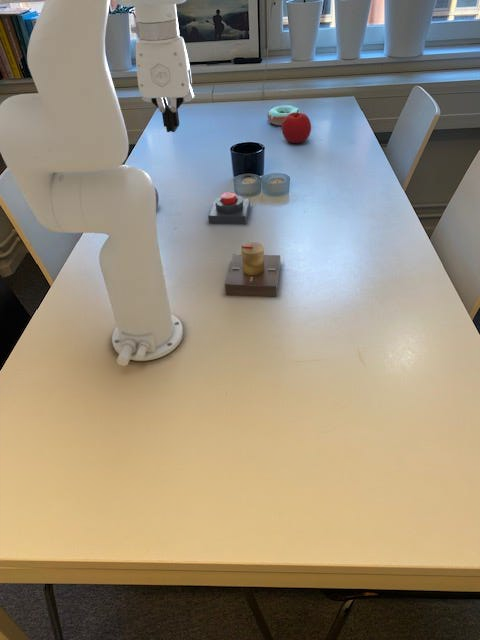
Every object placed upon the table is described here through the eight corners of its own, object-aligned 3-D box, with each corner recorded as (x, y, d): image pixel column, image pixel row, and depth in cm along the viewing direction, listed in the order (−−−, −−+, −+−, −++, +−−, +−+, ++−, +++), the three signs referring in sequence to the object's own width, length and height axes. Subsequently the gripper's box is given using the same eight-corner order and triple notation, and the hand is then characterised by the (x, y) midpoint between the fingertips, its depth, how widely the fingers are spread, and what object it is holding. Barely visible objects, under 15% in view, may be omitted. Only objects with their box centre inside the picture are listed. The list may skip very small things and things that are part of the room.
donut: (302, 115, 176) (302, 104, 174) (300, 127, 167) (300, 115, 165) (269, 116, 178) (268, 104, 175) (265, 127, 169) (265, 115, 166)
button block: (245, 224, 118) (245, 209, 115) (209, 223, 119) (207, 208, 116) (250, 207, 125) (249, 192, 122) (215, 206, 126) (214, 192, 123)
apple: (312, 136, 160) (313, 104, 154) (308, 147, 153) (309, 114, 147) (284, 135, 162) (284, 104, 156) (279, 145, 155) (279, 113, 149)
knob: (265, 263, 100) (265, 240, 97) (263, 275, 97) (262, 252, 93) (244, 262, 101) (243, 240, 97) (241, 274, 97) (239, 252, 94)
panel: (276, 296, 95) (276, 285, 94) (225, 294, 97) (224, 283, 95) (280, 265, 104) (280, 254, 102) (233, 263, 105) (232, 253, 103)
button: (235, 205, 118) (235, 198, 117) (220, 205, 118) (220, 198, 117) (237, 198, 121) (237, 191, 120) (223, 198, 121) (222, 191, 120)
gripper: (114, 36, 90) (133, 136, 102) (193, 33, 88) (203, 136, 100) (126, 28, 96) (143, 124, 108) (201, 25, 94) (210, 123, 106)
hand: (172, 129), depth 104 cm, fingers closed
